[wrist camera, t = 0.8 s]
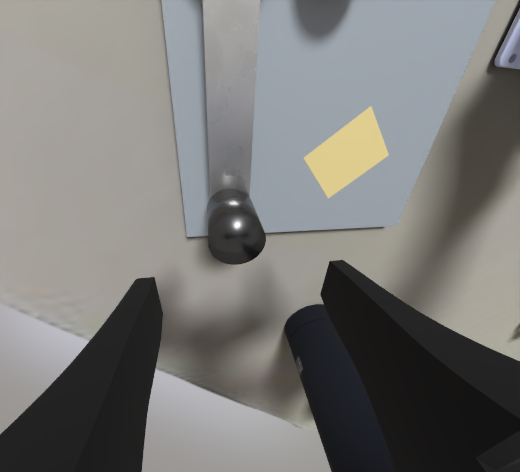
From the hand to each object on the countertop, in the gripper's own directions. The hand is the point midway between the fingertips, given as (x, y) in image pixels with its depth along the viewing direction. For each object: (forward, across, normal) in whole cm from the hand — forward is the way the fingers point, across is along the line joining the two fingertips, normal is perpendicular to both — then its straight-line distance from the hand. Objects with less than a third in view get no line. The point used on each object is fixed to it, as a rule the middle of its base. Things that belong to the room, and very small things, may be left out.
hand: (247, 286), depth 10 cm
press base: (+10, -6, -7) cm, 13 cm away
